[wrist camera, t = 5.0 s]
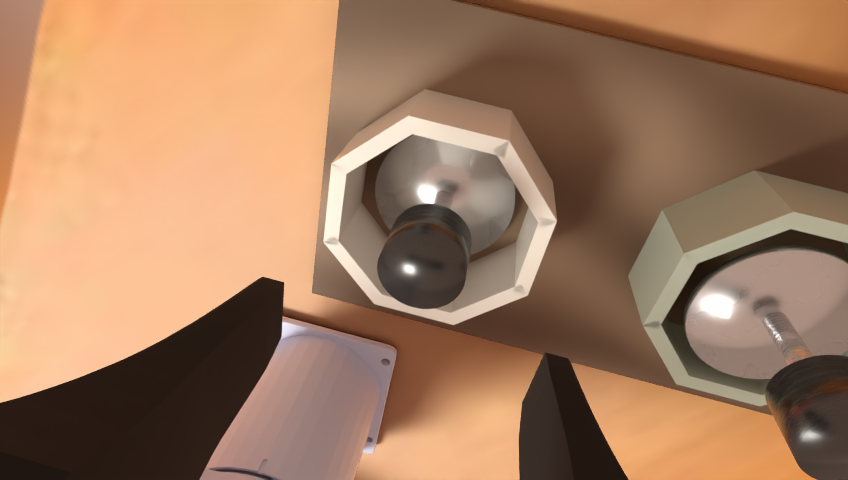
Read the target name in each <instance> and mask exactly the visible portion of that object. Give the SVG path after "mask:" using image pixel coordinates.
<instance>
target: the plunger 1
mask: <svg viewBox="0 0 848 480" xmlns="http://www.w3.org/2000/svg"><path fill="white" fill-rule="evenodd" d="M375 196H376V202H377V207H378V210H379V213H380V215H381V217H382V219H383V221H384V223H385V224H386V226H387V227H388V228H389V230H390V233H389V236H388V238H387V240H386V242H385V245H384V247H383V249H382V251H381V253H380V256H379V258H378V262H377V272H378V277H379V280H380V282H381V284H382V286H383V287H384V289H385V290H386V291H387V292H388V293H389V294H390V295H391V296H392V297H393V298H395V299H396V300H397V301H399V302H401V303H403V304H405V305H407V306H410V307H414V308H419V309H434V308H439V307H442V306H445V305H447V304H449V303H451V302H452V301H454V300H455V299H456V298H457V297H458V296H459V294H460V293H461V291H462V290H463V287H464V285H465V280H466V274H467V268H468V263H469V257H470V255H472V254H475V253H478V252H480V251H482V250H484V249H486V248H487V247H489V246H490V245H492V244H493V243H494V242H495V241H496V240H497V239H498V238H500V236H501V235H502V234H503V233H504V231H505V230H506V228H507V227H508V225H509V223H510V221H511V218H512V215H513V212H514V206H515V185H514V182H513V181H512V179H511V177H510V176H509V174H508V172H507V171H506V169H505V167H504V166H503V164H502V163H501V161H500V159H499V158H498V156H497V155H494V154H490V153H486V152H482V151H478V150H474V149H470V148H466V147H462V146H458V145H454V144H450V143H446V142H442V141H438V140H434V139H430V138H426V137H422V136H418V135H414V134H412V135H410V136H408V137H407V138H405V139H403V140H402V141H400V142H399V143H398V144H396V145H395V146H394V147H393V148H392V149H391V151H390V152H389V153H388V155H387V156H386V158H385V159H384V161H383V163H382V165H381V166H380V169H379V172H378V174H377V179H376V185H375Z"/></svg>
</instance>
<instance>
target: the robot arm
mask: <svg viewBox="0 0 848 480" xmlns="http://www.w3.org/2000/svg"><path fill="white" fill-rule="evenodd" d="M283 295H284V282H280V281H277V280H273V279H269V278H265V277H261V278H260V279H258V280H256V281H255V282H253V283H252V284H251V285H249V286H248V287H246V288H245V289H243V290H242V291H240V292H239V293H237V294H236V295H235V296H233V297H232V298H230V299H229V300H227V301H226V302H224V303H223V304H221V305H220V306H218V307H217V308H215V309H213V310H212V311H210V312H209V313H207V314H206V315H204V316H202V317H201V318H199V319H198V320H196V321H195V322H193V323H191V324H189V325H188V326H186V327H184V328H183V329H181V330H179V331H177V332H176V333H174V334H172V335H170V336H169V337H167V338H165V339H163V340H162V341H160V342H158V343H156V344H154V345H152V346H150V347H148V348H146V349H144V350H142V351H140V352H138V353H136V354H134V355H132V356H130V357H128V358H126V359H123V360H121V361H119V362H116V363H114V364H112V365H109V366H107V367H104V368H102V369H99V370H97V371H94V372H92V373H90V374H87V375H85V376H82V377H80V378H77V379H74V380H71V381H69V382H66V383H63V384H60V385H57V386H55V387H52V388H48V389H45V390H42V391H39V392H36V393H33V394H30V395H27V396H23V397H20V398H17V399H13V400H10V401H6V402H2V403H0V480H354V478H355V474H356V471H357V468H358V465H359V462H360V459H361V455H362V452H363V453H367V454H371V453H373V452H374V451H375V447H376V443H377V439H378V434H379V430H380V426H381V421H382V417H383V413H384V408H385V404H386V400H387V395H388V391H389V387H390V382H391V378H392V374H393V369H394V365H395V361H396V356H397V350H396V349H395V348H394V347H393V346H391V345H388V344H384V343H381V342H377V341H373V340H369V339H366V338H362V337H358V336H355V335H351V334H347V333H343V332H340V331H336V330H332V329H328V328H325V327H321V326H317V325H314V324H310V323H306V322H302V321H299V320H295V319H291V318H287V317H284V316H283ZM385 359H388V360H389V361H388V360H385ZM519 470H520V480H628V478H627V476H626V475H625V473H624V471H623V470H622V468H621V466H620V465H619V463H618V461H617V459H616V457H615V456H614V454H613V452H612V450H611V448H610V447H609V445H608V443H607V441H606V439H605V437H604V435H603V433H602V431H601V429H600V427H599V425H598V423H597V421H596V419H595V417H594V415H593V413H592V411H591V409H590V406H589V404H588V402H587V400H586V398H585V395H584V393H583V391H582V389H581V386H580V384H579V382H578V379H577V377H576V375H575V372H574V370H573V367H572V365H571V363H570V361H569V359H568V358H565V357H561V356H558V355H554V354H550V353H546V352H545V354H544V356H543V358H542V360H541V363H540V365H539V367H538V369H537V371H536V374H535V376H534V378H533V380H532V382H531V385H530V387H529V389H528V391H527V393H526V396H525V398H524V400H523V402H522V411H521V421H520V432H519Z"/></svg>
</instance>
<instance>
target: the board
mask: <svg viewBox="0 0 848 480" xmlns="http://www.w3.org/2000/svg"><path fill="white" fill-rule="evenodd" d="M424 89H427V90H431V91H435V92H439V93H443V94H447V95H451V96H455V97H460V98H464V99H468V100H472V101H476V102H480V103H484V104H488V105H492V106H496V107H500V108H504V109H508V110H512V112H513V114H514V115H515V117H516V119H517V121H518V122H519V124H520V126H521V127H522V129H523V131H524V133H525V134H526V136H527V138H528V140H529V141H530V143H531V145H532V147H533V148H534V150H535V152H536V153H537V155H538V157H539V159H540V160H541V162H542V164H543V166H544V167H545V169H546V171H547V173H548V174H549V176H550V178H551V179H552V181H553V188H554V197H555V206H556V216H557V222H556V225H555V227H554V230H553V233H552V235H551V238H550V240H549V243H548V245H547V248H546V250H545V253H544V255H543V258H542V261H541V263H540V266H539V268H538V271H537V273H536V276H535V278H534V281H533V283H532V286H531V289H530V291H529V294H528V296H525V297H523V298H520V299H518V300H515V301H513V302H510V303H508V304H505V305H503V306H500V307H498V308H495V309H493V310H490V311H488V312H485V313H483V314H480V315H478V316H475V317H473V318H470V319H467V320H465V321H462V322H460V323H457V324H455V325H451V324H448V323H444V322H440V321H436V320H432V319H429V318H425V317H421V316H417V315H414V314H410V313H406V312H402V311H399V310H395V309H391V308H387V307H383V306H380V305H376V304H374V303H373V302H372V301H371V300H370V298H369V297H368V296H367V295H366V294H365V292H364V291H363V290H362V289H361V287H360V286H359V285H358V284H357V283H356V281H355V280H354V279H353V278H352V276H351V275H350V274H349V273H348V272H347V270H346V269H345V268H344V267H343V265H342V264H341V263H340V262H339V261H338V259H337V258H336V257H335V256H334V254H333V253H332V252H331V251H330V250H329V248H328V247H327V246H326V245H325V243H324V242H323V241H324V231H325V221H326V211H327V201H328V192H329V182H330V172H331V163H332V162H333V161H334V160H335V159H336V157H337V156H338V155H339V154H340V153H341V151H342V150H343V149H344V148H345V147H346V145H347V144H348V143H349V142H350V141H351V139H352V138H353V137H354V136H355V135H356V133H357V132H359V131H360V130H362V129H364V128H365V127H367V126H368V125H370V124H371V123H373V122H374V121H376V120H378V119H379V118H381V117H382V116H384V115H385V114H387V113H389V112H390V111H392V110H393V109H395V108H396V107H398V106H399V105H401V104H403V103H404V102H406V101H407V100H409V99H410V98H412V97H414V96H415V95H417V94H418V93H420V92H421V91H423V90H424ZM398 143H399V142H398ZM398 143H397V144H398ZM395 145H396V144H395ZM395 145H393V146H392V147H390V148H388V149H387V150H385V151H383V152H382V153H380V154H379V155H377V156H375V157H374V158H372V159H370V160H369V161H367V168H366V175H365V182H364V189H363V196H362V203H363V205H364V206H365V207H366V209H367V210H368V211H369V213H370V214H371V215H372V217H373V218H374V219H375V221H376V222H377V223H378V225H379V226H380V227H381V229H382V230H383V231H384V233H385V234H386V235H387V237H388V236H389V233H390V230H389V228H388V227H387V226H386V224H385V223H384V221H383V219H382V217H381V215H380V213H379V210H378V207H377V202H376V196H375V185H376V179H377V174H378V172H379V169H380V166H381V165H382V163H383V161H384V159H385V158H386V156H387V155H388V153H389V152H390V151H391V149H392V148H393V147H394V146H395ZM754 170H756V171H760V172H764V173H768V174H772V175H776V176H780V177H784V178H788V179H792V180H796V181H800V182H804V183H808V184H812V185H817V186H821V187H825V188H829V189H833V190H837V191H841V192H845V193H847V194H848V93H847V92H843V91H839V90H834V89H830V88H826V87H822V86H818V85H814V84H809V83H805V82H801V81H797V80H793V79H788V78H784V77H780V76H776V75H772V74H767V73H763V72H759V71H755V70H751V69H746V68H742V67H738V66H734V65H730V64H725V63H721V62H717V61H713V60H709V59H704V58H700V57H696V56H692V55H688V54H683V53H679V52H675V51H671V50H667V49H663V48H658V47H654V46H650V45H646V44H642V43H637V42H633V41H629V40H625V39H621V38H616V37H612V36H608V35H604V34H600V33H595V32H591V31H587V30H583V29H579V28H574V27H570V26H566V25H562V24H558V23H553V22H549V21H545V20H541V19H537V18H532V17H528V16H524V15H520V14H516V13H511V12H507V11H503V10H499V9H495V8H491V7H486V6H482V5H478V4H474V3H470V2H465V1H461V0H339V10H338V20H337V31H336V42H335V52H334V63H333V74H332V84H331V95H330V106H329V116H328V127H327V138H326V148H325V159H324V170H323V180H322V191H321V202H320V212H319V223H318V234H317V244H316V255H315V266H314V276H313V287H312V293H314V294H318V295H322V296H326V297H329V298H333V299H337V300H341V301H344V302H348V303H352V304H356V305H359V306H363V307H367V308H371V309H374V310H378V311H382V312H386V313H389V314H393V315H397V316H401V317H405V318H408V319H412V320H416V321H420V322H423V323H427V324H431V325H435V326H438V327H442V328H446V329H450V330H453V331H457V332H461V333H465V334H468V335H472V336H476V337H480V338H483V339H487V340H491V341H495V342H499V343H502V344H506V345H510V346H514V347H517V348H521V349H525V350H529V351H532V352H536V353H540V354H545V352H546V353H550V354H554V355H558V356H561V357H565V358H568V359H569V361H570V362H574V363H577V364H581V365H585V366H589V367H593V368H596V369H600V370H604V371H608V372H611V373H615V374H619V375H623V376H626V377H630V378H634V379H638V380H641V381H645V382H649V383H653V384H656V385H660V386H664V387H668V388H671V389H675V390H679V391H683V392H687V393H690V394H694V395H698V396H702V397H705V398H709V399H713V400H717V401H720V402H724V403H728V404H732V405H735V406H739V407H743V408H747V409H750V410H754V411H758V412H762V413H765V414H769V415H773V414H772V412H771V411H770V409H769V407H768V405H763V406H756V405H753V404H749V403H745V402H741V401H738V400H734V399H730V398H726V397H722V396H719V395H715V394H711V393H707V392H704V391H700V390H696V389H692V388H689V387H685V386H681V385H677V384H676V383H675V381H674V379H673V378H672V376H671V374H670V372H669V371H668V369H667V367H666V365H665V364H664V362H663V360H662V358H661V357H660V355H659V353H658V351H657V350H656V348H655V346H654V344H653V343H652V341H651V339H650V337H649V336H648V334H647V332H646V330H645V329H644V327H643V325H642V322H641V318H640V315H639V312H638V308H637V305H636V301H635V298H634V295H633V291H632V288H631V284H630V281H629V278H628V275H629V273H630V271H631V269H632V267H633V265H634V263H635V261H636V259H637V258H638V256H639V254H640V252H641V250H642V248H643V246H644V244H645V242H646V240H647V238H648V236H649V234H650V232H651V230H652V229H653V227H654V225H655V223H656V221H657V219H658V217H659V215H660V213H661V211H662V209H664V208H667V207H669V206H671V205H674V204H676V203H678V202H681V201H683V200H685V199H688V198H690V197H692V196H695V195H697V194H700V193H702V192H704V191H707V190H709V189H711V188H714V187H716V186H718V185H721V184H723V183H725V182H728V181H730V180H733V179H735V178H737V177H740V176H742V175H744V174H747V173H749V172H751V171H754ZM514 185H515V184H514ZM527 210H528V205H527V203H526V202H525V200H524V199H523V197H522V195H521V194H520V192H519V190H518V189H517V187H516V185H515V206H514V212H513V215H512V218H511V221H510V223H509V225H508V227H507V228H506V230H505V231H504V233H503V234H502V235H501V236H500V238H498V239H497V240H496V241H495V242H494V243H493V244H492V245H490V246H489V247H487V248H486V249H484V250H482V251H480V252H478V253H475V254H472V255H470V257H469V263H471V262H473V261H475V260H477V259H480V258H482V257H484V256H486V255H488V254H491V253H493V252H495V251H497V250H500V249H502V248H504V247H506V246H508V245H511V244H513V243H515V242H516V241H517V238H518V235H519V232H520V230H521V227H522V224H523V221H524V218H525V215H526V213H527ZM786 245H797V246H808V247H813V248H819V249H822V250H825V251H828V252H831V253H833V254H835V255H837V256H839V257H841V258H842V259H844V260H845V261H847V262H848V257H847V254H846V251H845V248H844V245H843V243H842V242H841V241H837V240H833V239H829V238H825V237H821V236H817V235H813V234H809V233H805V232H801V231H797V230H793V229H789V230H787V231H784V232H781V233H778V234H776V235H773V236H770V237H768V238H765V239H762V240H760V241H757V242H754V243H751V244H749V245H746V246H743V247H741V248H738V249H735V250H733V251H730V252H727V253H725V254H722V255H719V256H716V257H714V258H711V259H708V260H706V261H703V262H700V263H698V264H697V265H696V267H695V269H694V270H693V272H692V274H691V275H690V277H689V279H688V280H687V282H686V284H685V285H684V287H683V289H682V290H681V292H680V294H679V295H678V297H677V299H676V300H675V302H674V304H673V305H672V307H671V309H670V310H669V312H668V314H667V315H666V317H667V319H668V321H669V322H671V323H675V324H679V325H683V316H684V309H685V306H686V303H687V301H688V299H689V297H690V295H691V293H692V292H693V290H694V289H695V287H696V286H697V285H698V284H699V283H700V282H701V280H702V279H703V278H704V277H706V276H707V275H708V274H709V273H710V272H711V271H713V270H714V269H716V268H717V267H719V266H720V265H722V264H723V263H725V262H727V261H729V260H731V259H733V258H735V257H737V256H740V255H742V254H745V253H748V252H751V251H754V250H758V249H763V248H767V247H774V246H786ZM683 326H684V325H683Z"/></svg>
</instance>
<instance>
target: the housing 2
mask: <svg viewBox="0 0 848 480" xmlns="http://www.w3.org/2000/svg"><path fill="white" fill-rule="evenodd" d="M789 229H793V230H797V231H801V232H805V233H809V234H813V235H817V236H821V237H825V238H829V239H833V240H837V241H841V242H842V243H843V245H844V248H845V251H846V254H847V257H848V194H847V193H845V192H841V191H837V190H833V189H829V188H825V187H821V186H817V185H812V184H808V183H804V182H800V181H796V180H792V179H788V178H784V177H780V176H776V175H772V174H768V173H764V172H760V171H756V170H754V171H751V172H749V173H747V174H744V175H742V176H740V177H737V178H735V179H733V180H730V181H728V182H725V183H723V184H721V185H718V186H716V187H714V188H711V189H709V190H707V191H704V192H702V193H700V194H697V195H695V196H692V197H690V198H688V199H685V200H683V201H681V202H678V203H676V204H674V205H671V206H669V207H667V208H664V209H662V211H661V213H660V215H659V217H658V219H657V221H656V223H655V225H654V227H653V229H652V230H651V232H650V234H649V236H648V238H647V240H646V242H645V244H644V246H643V248H642V250H641V252H640V254H639V256H638V258H637V259H636V261H635V263H634V265H633V267H632V269H631V271H630V273H629V275H628V278H629V281H630V284H631V288H632V291H633V295H634V298H635V301H636V305H637V308H638V312H639V315H640V318H641V322H642V325H643V327H644V329H645V330H646V332H647V334H648V336H649V337H650V339H651V341H652V343H653V344H654V346H655V348H656V350H657V351H658V353H659V355H660V357H661V358H662V360H663V362H664V364H665V365H666V367H667V369H668V371H669V372H670V374H671V376H672V378H673V379H674V381H675V383H676V384H677V385H681V386H685V387H689V388H692V389H696V390H700V391H704V392H707V393H711V394H715V395H719V396H722V397H726V398H730V399H734V400H738V401H741V402H745V403H749V404H753V405H756V406H763V405H767V402H766V399H765V390H766V387H767V385H768V383H769V381H770V380H771V379H750V378H742V377H737V376H733V375H729V374H726V373H723V372H721V371H719V370H717V369H714V368H713V367H711V366H709V365H708V364H706V363H705V362H704V361H703V360H701V359H700V358H699V357H698V355H697V354H696V353H695V352H694V350H693V349H692V347H691V346H690V343H689V341H688V338H687V336H686V333H685V330H684V326H683V325H679V324H675V323H671V322H669V321H668V319H667V317H666V315H667V314H668V312H669V310H670V309H671V307H672V305H673V304H674V302H675V300H676V299H677V297H678V295H679V294H680V292H681V290H682V289H683V287H684V285H685V284H686V282H687V280H688V279H689V277H690V275H691V274H692V272H693V270H694V269H695V267H696V265H697V264H698V263H700V262H703V261H706V260H708V259H711V258H714V257H716V256H719V255H722V254H725V253H727V252H730V251H733V250H735V249H738V248H741V247H743V246H746V245H749V244H751V243H754V242H757V241H760V240H762V239H765V238H768V237H770V236H773V235H776V234H778V233H781V232H784V231H787V230H789ZM842 356H847V357H848V350H847V351H845V352H844V353H843V354H842Z"/></svg>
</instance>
